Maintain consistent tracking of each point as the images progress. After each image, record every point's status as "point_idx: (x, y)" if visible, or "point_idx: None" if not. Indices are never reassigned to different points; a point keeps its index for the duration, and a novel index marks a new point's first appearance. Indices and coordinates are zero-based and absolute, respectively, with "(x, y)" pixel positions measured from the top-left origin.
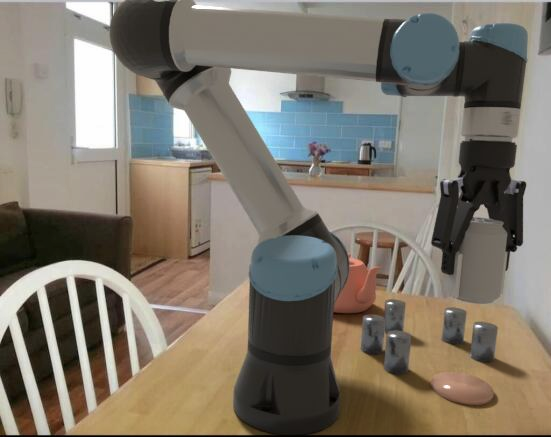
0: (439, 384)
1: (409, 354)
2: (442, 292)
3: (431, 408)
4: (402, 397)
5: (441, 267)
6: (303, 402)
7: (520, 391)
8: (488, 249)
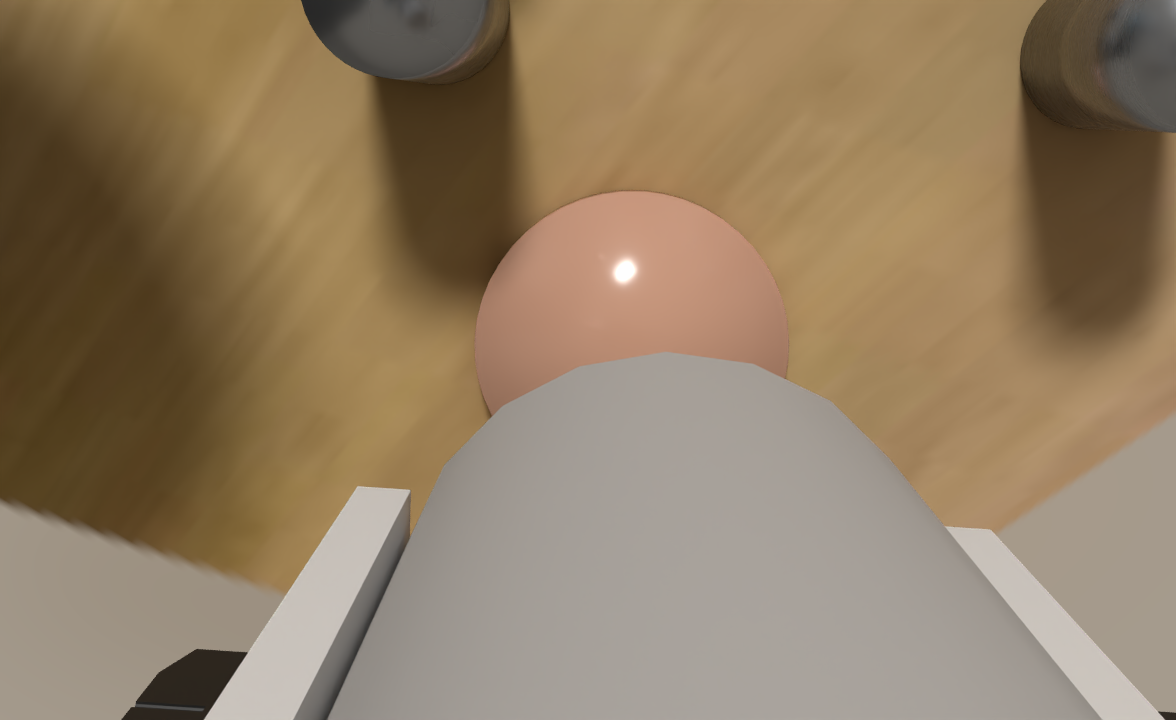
0: (515, 305)
1: (469, 62)
2: (357, 489)
3: (356, 432)
4: (279, 302)
5: (146, 693)
6: None
7: (919, 454)
8: None
